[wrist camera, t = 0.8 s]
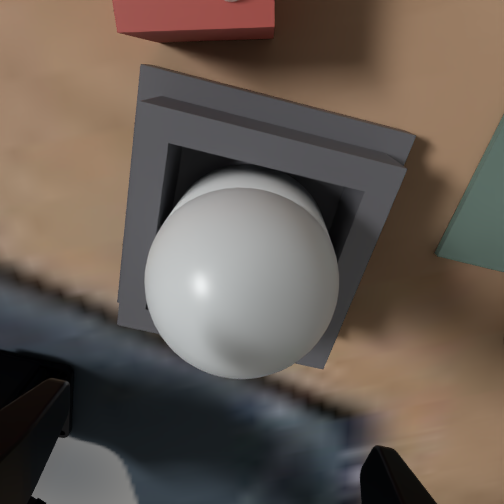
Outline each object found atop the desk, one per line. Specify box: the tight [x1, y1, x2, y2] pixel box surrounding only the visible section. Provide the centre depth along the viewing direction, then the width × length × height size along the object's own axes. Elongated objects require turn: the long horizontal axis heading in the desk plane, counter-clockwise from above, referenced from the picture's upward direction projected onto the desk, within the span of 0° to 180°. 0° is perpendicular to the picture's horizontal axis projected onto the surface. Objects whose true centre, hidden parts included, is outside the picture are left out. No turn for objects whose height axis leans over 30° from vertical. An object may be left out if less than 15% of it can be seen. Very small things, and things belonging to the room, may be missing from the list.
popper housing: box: [117, 64, 416, 369], centre depth 18 cm, size 12×12×4 cm
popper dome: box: [144, 164, 339, 379], centre depth 14 cm, size 7×7×7 cm
